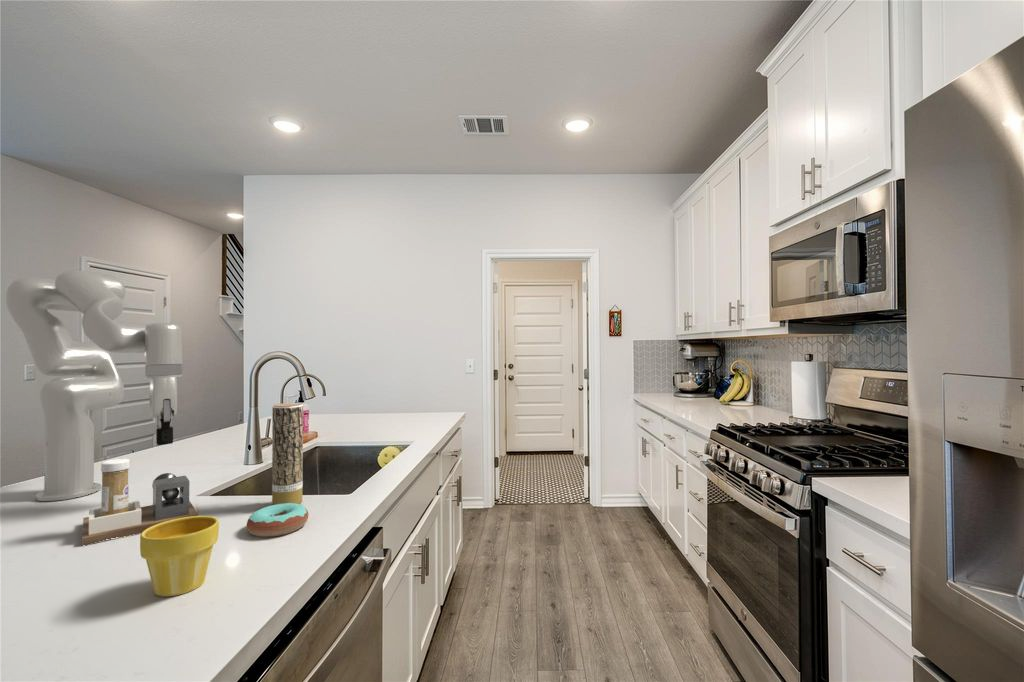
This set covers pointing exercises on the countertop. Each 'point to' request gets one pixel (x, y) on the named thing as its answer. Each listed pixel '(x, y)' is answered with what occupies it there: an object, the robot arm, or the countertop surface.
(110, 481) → the sprinkles bottle
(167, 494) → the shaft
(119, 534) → the walnut board
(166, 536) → the plant pot
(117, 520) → the socket
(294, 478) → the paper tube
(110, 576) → the countertop surface
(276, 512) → the donut
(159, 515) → the bearing block
